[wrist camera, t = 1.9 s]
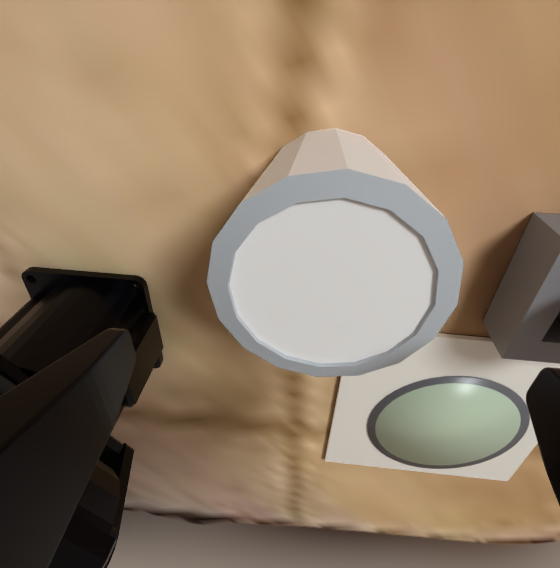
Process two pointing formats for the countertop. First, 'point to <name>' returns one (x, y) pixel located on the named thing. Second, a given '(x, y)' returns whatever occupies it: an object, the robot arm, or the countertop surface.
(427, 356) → the white square board
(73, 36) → the countertop surface
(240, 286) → the shot glass
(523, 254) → the button housing
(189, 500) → the countertop surface
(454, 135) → the countertop surface
